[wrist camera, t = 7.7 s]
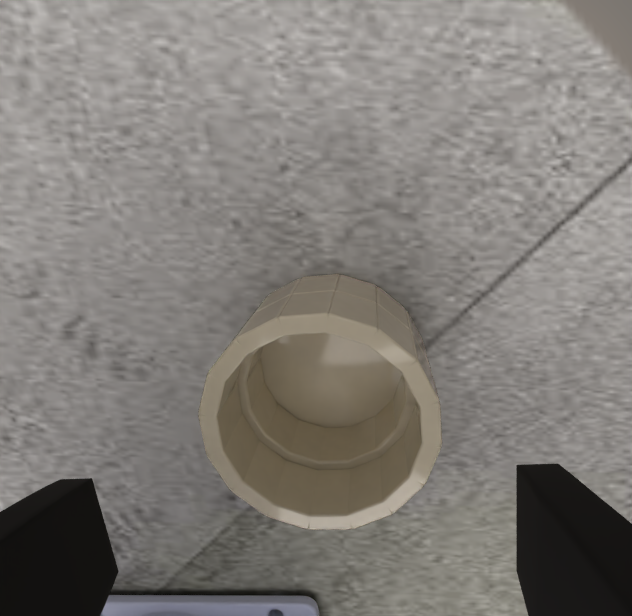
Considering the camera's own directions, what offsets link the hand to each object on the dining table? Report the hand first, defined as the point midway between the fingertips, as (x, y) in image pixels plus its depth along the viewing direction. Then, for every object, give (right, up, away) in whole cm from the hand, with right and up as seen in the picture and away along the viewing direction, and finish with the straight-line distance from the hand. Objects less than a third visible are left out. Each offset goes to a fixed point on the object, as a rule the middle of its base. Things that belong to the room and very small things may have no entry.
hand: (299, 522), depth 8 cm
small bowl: (+1, +2, +7) cm, 7 cm away
